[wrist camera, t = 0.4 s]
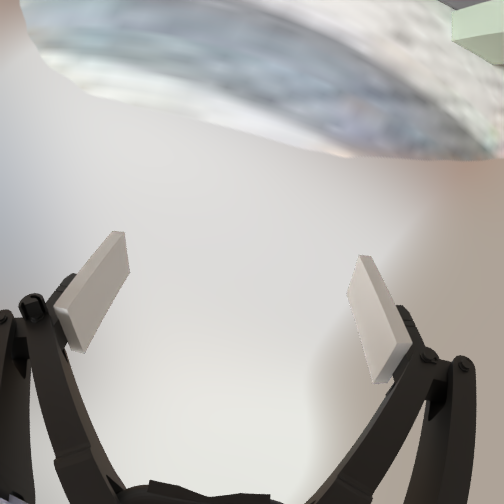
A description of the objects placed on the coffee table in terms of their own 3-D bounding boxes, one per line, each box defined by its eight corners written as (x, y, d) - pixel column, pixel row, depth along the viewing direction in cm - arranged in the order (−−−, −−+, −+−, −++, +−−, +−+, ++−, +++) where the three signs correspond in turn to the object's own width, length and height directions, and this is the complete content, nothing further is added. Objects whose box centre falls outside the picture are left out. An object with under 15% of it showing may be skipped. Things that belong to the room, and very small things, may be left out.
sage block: (451, 12, 28) (505, -4, 15) (492, 37, 29) (545, 32, 16) (451, 41, 31) (508, 31, 18) (492, 64, 31) (548, 65, 19)
